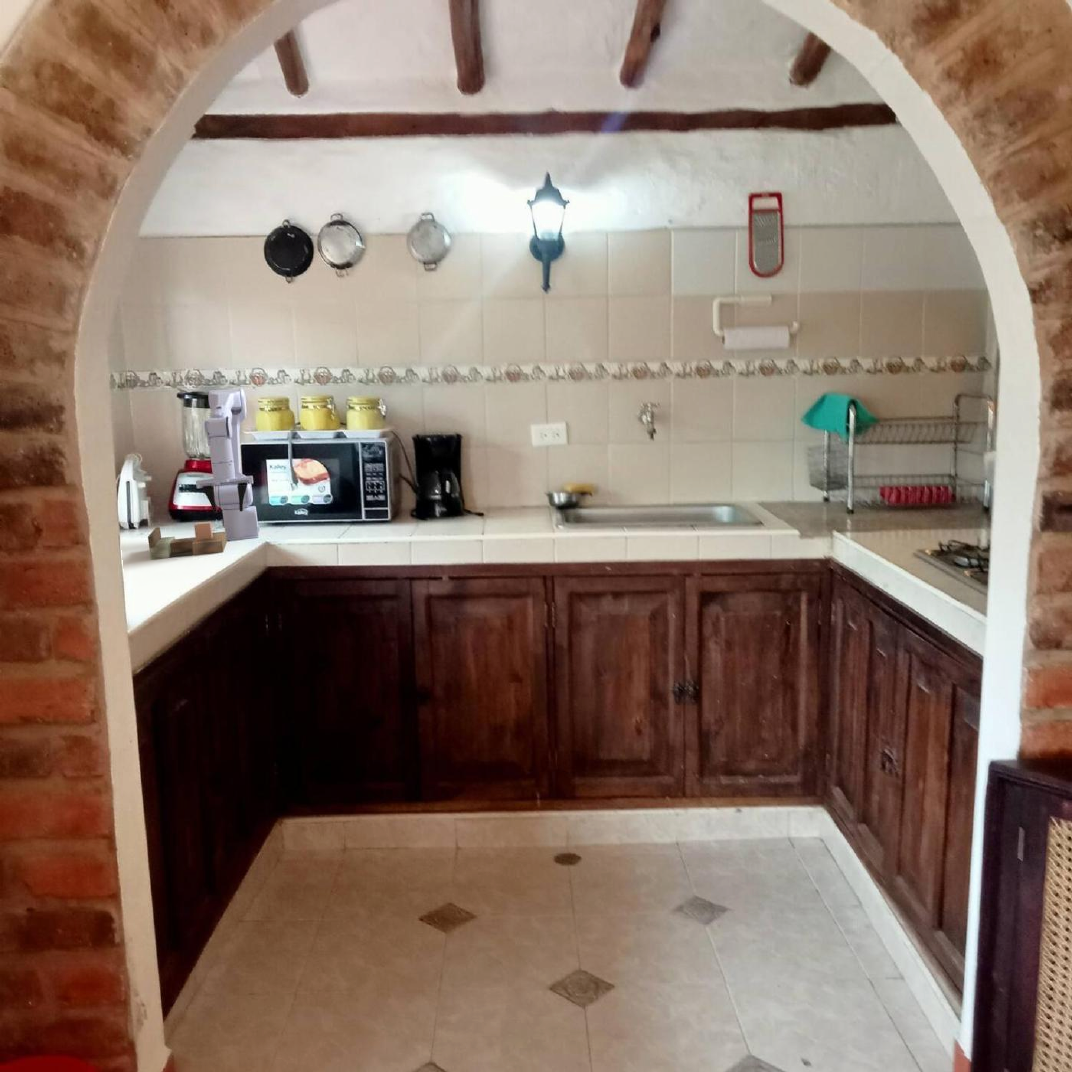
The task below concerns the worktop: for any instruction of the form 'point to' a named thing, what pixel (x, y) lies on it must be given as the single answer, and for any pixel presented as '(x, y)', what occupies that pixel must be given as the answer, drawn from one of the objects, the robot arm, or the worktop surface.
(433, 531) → the worktop surface
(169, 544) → the board
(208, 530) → the block
